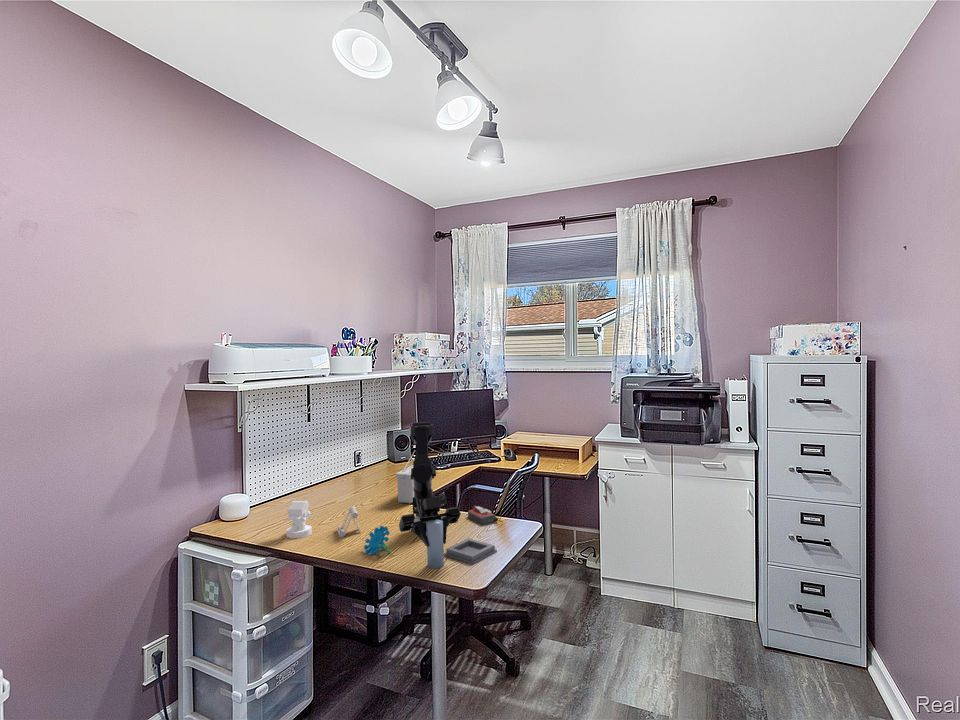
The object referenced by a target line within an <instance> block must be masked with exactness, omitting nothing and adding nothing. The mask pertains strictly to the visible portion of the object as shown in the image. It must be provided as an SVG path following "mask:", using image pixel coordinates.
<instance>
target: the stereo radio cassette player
mask: <svg viewBox="0 0 960 720" xmlns="http://www.w3.org/2000/svg"><path fill="white" fill-rule="evenodd" d="M415 452H416V450H415V449H414V450H413V453H412V454H411V456H410V458H409V459H408V461H407V463H406V464H405V466H404V468H403V469H401V470H400V471H399V472H396V473H395V478H396V479H397V480H396V481H397V502H398V503H400V504H403V503H404V504H413V497H414V490H413V488H414V483H413V480H411V468H413V464H411V465H410V466H408V465H409V463H410V461H411V459H412V457H413V456H414V453H415ZM407 466H408V467H407Z"/></svg>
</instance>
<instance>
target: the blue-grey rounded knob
mask: <svg viewBox="0 0 960 720" xmlns="http://www.w3.org/2000/svg"><path fill="white" fill-rule="evenodd" d="M426 530H427V531H426V536H427V539H428V543H429V546H428V547H427V546H426V556H427V557H426V561H427V562H426V564H427V565H426V566H427V568H429V569H440V568H442V567H444V566H445V561H444V560H445V555H444V553H445V551H444V543H443V521H441V520H430V521H427V522H426Z"/></svg>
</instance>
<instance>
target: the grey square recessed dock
mask: <svg viewBox="0 0 960 720" xmlns="http://www.w3.org/2000/svg"><path fill="white" fill-rule="evenodd" d="M445 551H446V552H444V556H446V557H449V558H451V559H455V560H458V561H461V562H465V563H468V564H471V565H474V564H476V563H478V562H480V561H482V560H484V559H485V558H487V557H489V556H491V555H493V554H495V553H497V552H498V550H497V549H496V548H495V545H494V544H492V543H491V544H490V543H487V542H484V541H480V540H476V539H472V538H468V537H467V538H466V539H464V540H462V541H460V542H457V543H456V544H454V545H452V546H451V545H450V547H447V548H446V550H445Z"/></svg>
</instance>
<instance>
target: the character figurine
mask: <svg viewBox="0 0 960 720" xmlns="http://www.w3.org/2000/svg"><path fill="white" fill-rule="evenodd" d="M311 507H312V505H311V504H310V503H309V502H308V500H292V502H290V503H289V506H288V508H287V509H286V510H287V515H288V516H286V521H287V520H288V521H289V520H291V522H292V523H291V524H290V525H291V526H290V527H288V528H287V529H286V531H285V532H286V533H285V534H286V537H287V538H288V537H289V539H300V538H304V537H305V538H306V537H308V536H310V535H312V533H313V531H312V526H311V525H309V524H306V522H307V521H308V519H309V517H310V516H311V515H312V513H311V511H310V508H311Z"/></svg>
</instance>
